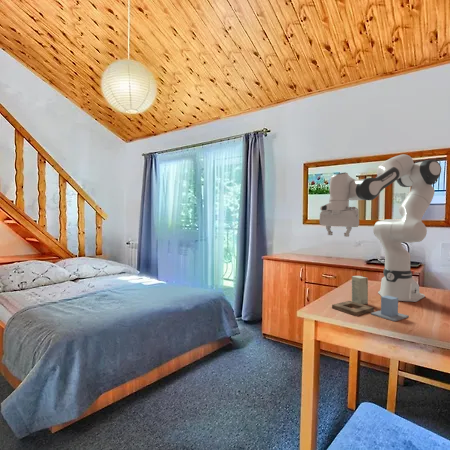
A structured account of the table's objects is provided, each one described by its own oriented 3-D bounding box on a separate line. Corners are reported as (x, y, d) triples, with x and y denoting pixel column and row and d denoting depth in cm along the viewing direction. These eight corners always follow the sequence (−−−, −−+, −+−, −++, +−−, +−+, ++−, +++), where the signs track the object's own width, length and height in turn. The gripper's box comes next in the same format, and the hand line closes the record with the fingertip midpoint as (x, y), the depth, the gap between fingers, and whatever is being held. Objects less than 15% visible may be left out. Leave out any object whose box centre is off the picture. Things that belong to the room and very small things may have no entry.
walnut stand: (349, 303, 143) (349, 300, 143) (373, 311, 133) (373, 307, 133) (332, 308, 137) (332, 304, 137) (355, 315, 127) (356, 312, 127)
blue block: (387, 311, 130) (387, 295, 130) (397, 314, 126) (398, 297, 126) (380, 313, 128) (381, 296, 127) (391, 316, 124) (392, 299, 124)
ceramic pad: (384, 310, 134) (384, 309, 134) (408, 317, 125) (408, 315, 125) (370, 314, 129) (370, 312, 129) (394, 321, 120) (394, 320, 120)
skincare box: (368, 304, 143) (368, 278, 143) (360, 304, 142) (360, 278, 141) (358, 300, 149) (359, 275, 149) (350, 301, 148) (351, 275, 147)
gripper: (362, 206, 140) (361, 237, 141) (326, 207, 157) (325, 234, 158) (353, 206, 137) (353, 237, 137) (317, 207, 154) (317, 234, 155)
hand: (338, 235), depth 148 cm, fingers open, 8 cm apart
